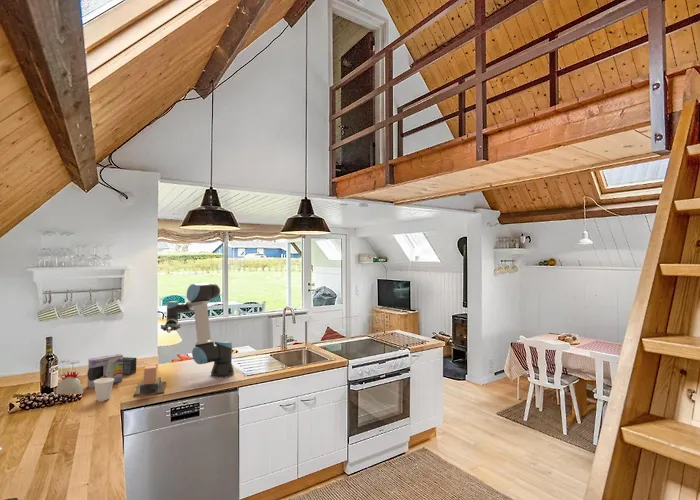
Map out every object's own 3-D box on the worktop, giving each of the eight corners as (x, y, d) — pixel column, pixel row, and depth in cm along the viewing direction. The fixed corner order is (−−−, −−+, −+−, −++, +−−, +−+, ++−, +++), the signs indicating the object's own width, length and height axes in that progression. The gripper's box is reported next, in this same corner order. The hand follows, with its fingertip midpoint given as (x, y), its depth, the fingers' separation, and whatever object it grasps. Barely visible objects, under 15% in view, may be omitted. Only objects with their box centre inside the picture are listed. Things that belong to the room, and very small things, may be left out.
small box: (136, 372, 271) (137, 357, 271) (130, 375, 264) (131, 359, 265) (122, 371, 272) (123, 356, 272) (116, 374, 265) (116, 359, 266)
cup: (117, 398, 223) (118, 378, 223) (101, 404, 214) (102, 384, 214) (104, 395, 226) (105, 376, 227) (88, 401, 217) (89, 381, 217)
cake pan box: (87, 389, 237) (88, 359, 237) (85, 386, 240) (86, 358, 240) (122, 381, 251) (123, 354, 251) (120, 380, 254) (121, 353, 254)
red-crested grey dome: (83, 399, 221) (84, 372, 221) (52, 403, 213) (53, 376, 213) (83, 391, 232) (84, 366, 232) (54, 395, 224) (55, 369, 225)
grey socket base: (166, 383, 251) (166, 373, 251) (163, 393, 232) (164, 383, 232) (138, 385, 245) (138, 375, 245) (133, 396, 226) (133, 386, 226)
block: (155, 388, 237) (156, 365, 237) (154, 391, 231) (155, 367, 232) (144, 389, 235) (145, 365, 235) (143, 392, 229) (144, 368, 229)
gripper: (180, 329, 284) (179, 336, 262) (161, 330, 279) (158, 336, 257) (181, 319, 284) (179, 324, 262) (161, 319, 279) (158, 325, 257)
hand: (169, 330), depth 259 cm, fingers closed
